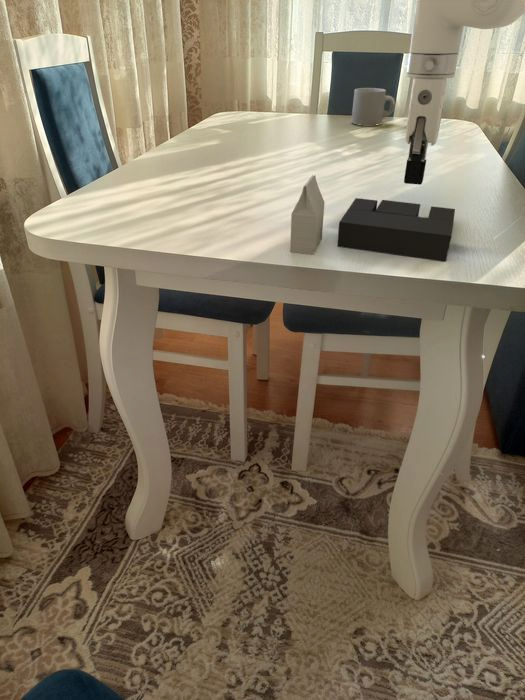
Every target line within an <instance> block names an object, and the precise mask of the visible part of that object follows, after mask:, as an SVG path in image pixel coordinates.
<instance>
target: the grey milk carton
mask: <svg viewBox="0 0 525 700" xmlns="http://www.w3.org/2000/svg"><path fill="white" fill-rule="evenodd" d="M325 202H326V201H325V200H324V197H323V195H322V193H321V190H320V187H319V183H318V181H317V177H316V174H312V175H311V177H309V178H308V180H307V182H306V183H305V184H304V185H303V187H302V191H301V194H300V196H299V199H298V201H297V202H296V205H295V206H294V208H293V210H292V212H291V215H290V217H291V219H290V241H289V242H290V244H289V252H290V253H299V254H305V255H315V253H316V251H317V249H318V247H319V245H320V243H321V241H322V240H323V228H324V217H325V215H324V214H325Z"/></svg>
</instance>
